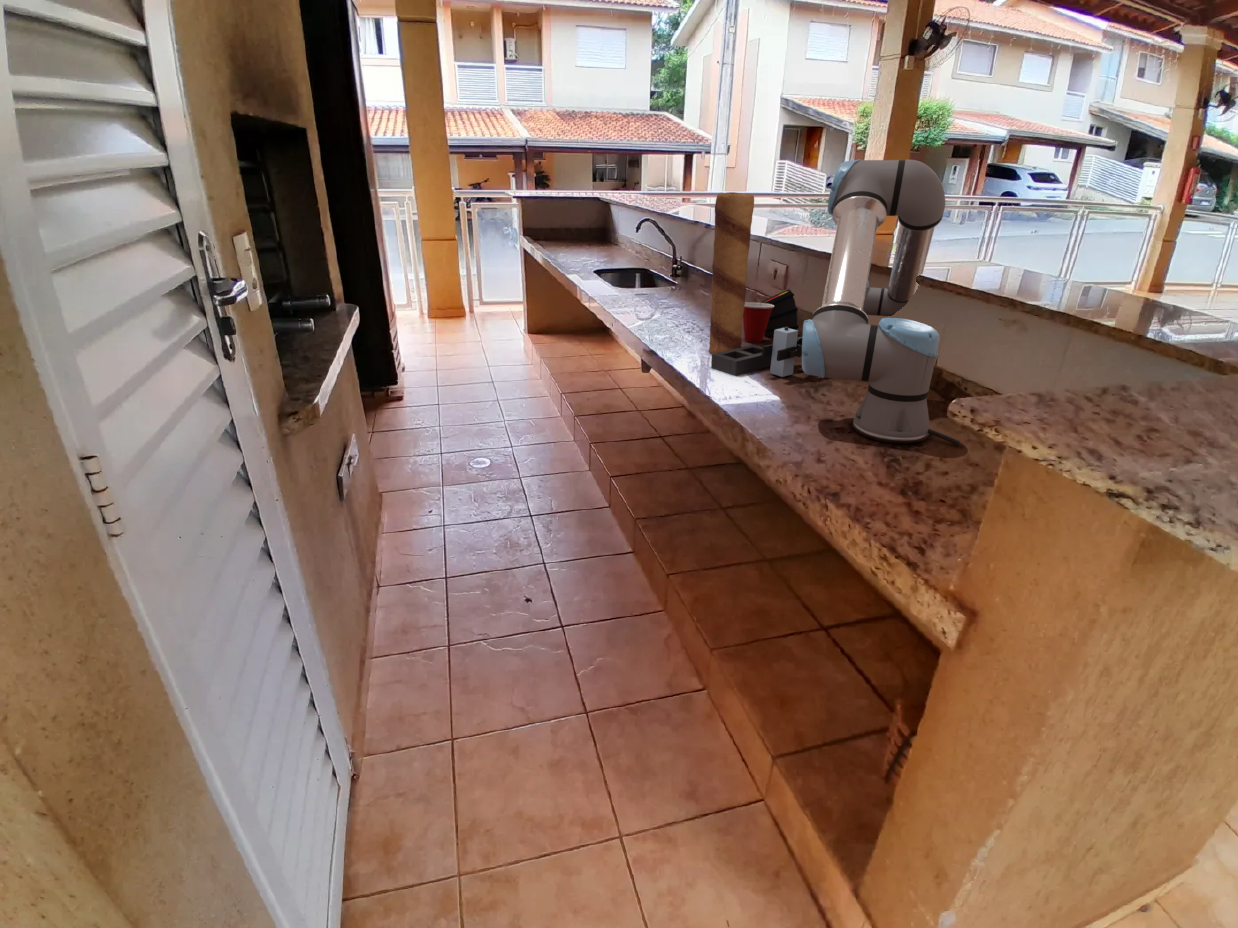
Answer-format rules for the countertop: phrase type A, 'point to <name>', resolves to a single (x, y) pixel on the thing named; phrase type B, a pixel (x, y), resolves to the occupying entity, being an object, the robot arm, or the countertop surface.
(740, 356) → the cinder block
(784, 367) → the grey rectangular block
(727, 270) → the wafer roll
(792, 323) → the magazine
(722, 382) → the countertop surface
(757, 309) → the plastic cup
